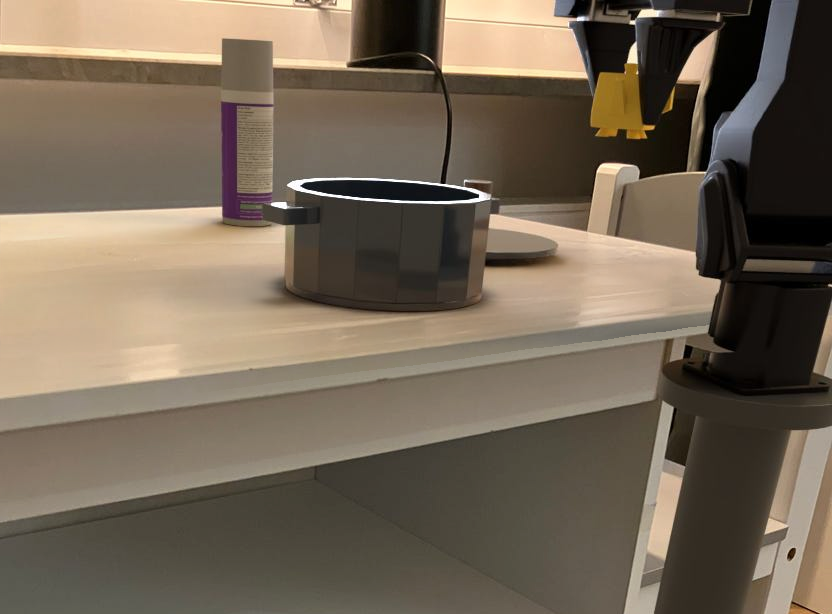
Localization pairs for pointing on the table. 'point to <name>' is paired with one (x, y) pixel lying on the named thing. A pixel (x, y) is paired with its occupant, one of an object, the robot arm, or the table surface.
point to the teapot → (620, 104)
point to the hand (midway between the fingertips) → (626, 123)
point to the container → (246, 130)
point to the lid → (511, 238)
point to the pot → (384, 242)
